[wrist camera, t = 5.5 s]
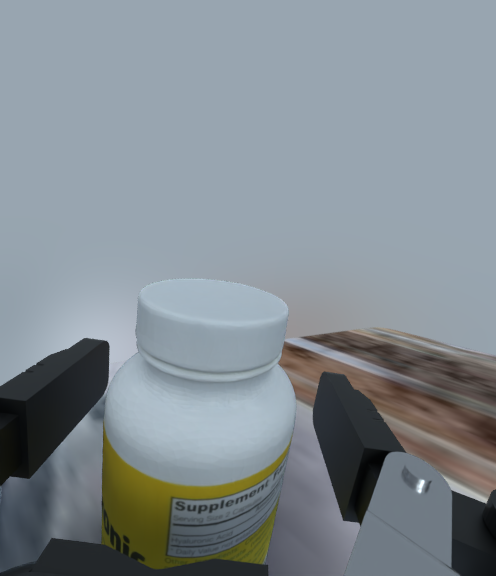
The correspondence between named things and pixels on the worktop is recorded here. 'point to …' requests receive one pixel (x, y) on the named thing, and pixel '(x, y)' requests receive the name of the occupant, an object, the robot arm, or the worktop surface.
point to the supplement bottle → (198, 426)
